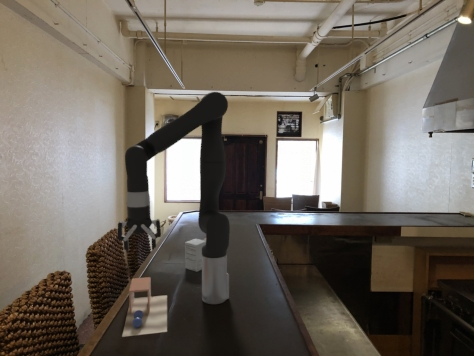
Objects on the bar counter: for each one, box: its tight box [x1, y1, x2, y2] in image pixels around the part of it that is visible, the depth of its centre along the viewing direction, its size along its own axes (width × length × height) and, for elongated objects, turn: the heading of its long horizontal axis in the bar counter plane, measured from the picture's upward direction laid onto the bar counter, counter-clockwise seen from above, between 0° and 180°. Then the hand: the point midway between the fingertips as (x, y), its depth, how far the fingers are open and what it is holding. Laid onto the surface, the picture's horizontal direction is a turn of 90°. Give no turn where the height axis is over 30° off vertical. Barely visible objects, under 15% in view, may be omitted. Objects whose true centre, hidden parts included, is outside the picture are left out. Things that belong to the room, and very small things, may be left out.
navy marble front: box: [132, 317, 142, 328], centre depth 100 cm, size 3×3×3 cm
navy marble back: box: [134, 310, 143, 319], centre depth 104 cm, size 3×3×3 cm
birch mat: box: [121, 295, 168, 338], centre depth 108 cm, size 24×13×1 cm, turn 12°
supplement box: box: [184, 238, 206, 272], centre depth 150 cm, size 7×7×13 cm
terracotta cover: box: [128, 276, 152, 314], centre depth 113 cm, size 10×6×8 cm, turn 12°
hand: (140, 249), depth 112 cm, fingers open, 8 cm apart
